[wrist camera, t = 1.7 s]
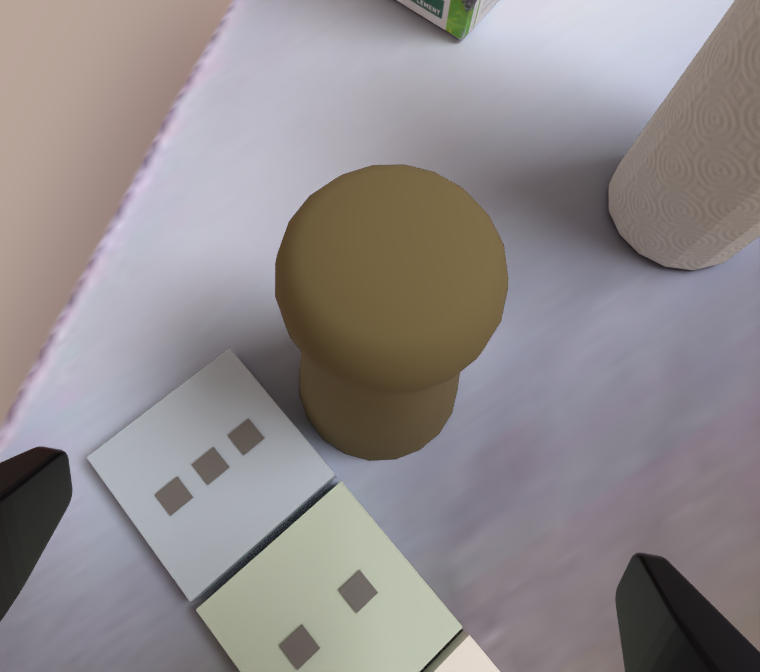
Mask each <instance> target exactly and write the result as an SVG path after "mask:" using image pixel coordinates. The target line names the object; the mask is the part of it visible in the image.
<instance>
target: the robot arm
mask: <svg viewBox="0 0 760 672" xmlns="http://www.w3.org/2000/svg"><path fill="white" fill-rule="evenodd" d="M71 497H72V482H71V474H70V467H69V459H68V455H67V454H66V452H65V451H63V450H60V449H54V448H48V447H36V448H33V449H31V450H28V451H26V452H24V453H21V454H19V455H17V456H15V457H12V458H10V459H8V460H6V461H3V462H1V463H0V621H1V620H2V618H3V617H4V615H5V614H6V613H7V611H8V610H9V608H10V607H11V605H12V604H13V602H14V601H15V599H16V598H17V596H18V595H19V593H20V591H21V590H22V588H23V586H24V585H25V583H26V581H27V579H28V578H29V576H30V574H31V572H32V571H33V569H34V567H35V565H36V563H37V561H38V560H39V558H40V556H41V554H42V552H43V551H44V549H45V547H46V545H47V543H48V542H49V540H50V538H51V536H52V534H53V533H54V531H55V529H56V527H57V525H58V524H59V522H60V520H61V518H62V516H63V515H64V513H65V511H66V509H67V507H68V505H69V503H70V501H71ZM616 610H617V617H618V624H619V631H620V639H621V646H622V653H623V660H624V667H625V672H760V652H759V651H758V650H757V649H756V648H755V647H754V646H753V645H752V644H751V643H750V642H749V641H748V640H747V639H746V638H745V637H744V636H743V635H742V634H741V633H740V632H739V631H738V630H737V629H736V628H735V627H734V626H733V625H732V624H731V623H730V622H729V621H728V620H727V619H726V618H725V617H724V616H723V615H722V614H721V613H720V612H719V611H718V610H717V609H716V608H715V607H714V606H713V605H712V604H711V603H710V602H709V601H708V600H707V599H706V598H705V597H704V596H703V595H702V594H701V593H700V592H699V591H698V590H697V589H696V588H695V587H694V586H693V585H692V584H691V583H690V582H689V581H688V580H687V579H686V578H685V577H684V576H683V575H682V574H681V573H680V572H679V571H678V570H677V569H676V568H675V567H674V566H673V565H672V564H671V563H670V562H669V561H667V560H666V559H665V558H663V557H661V556H657V555H651V554H646V553H636V554H634V555H633V556H632V558H631V560H630V562H629V564H628V566H627V568H626V570H625V572H624V574H623V576H622V578H621V580H620V583H619V585H618V587H617V590H616Z"/></svg>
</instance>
